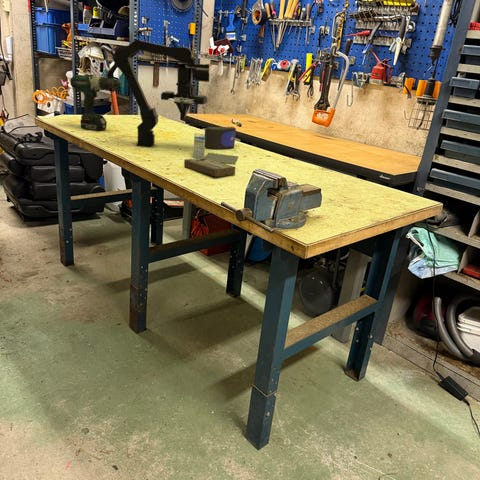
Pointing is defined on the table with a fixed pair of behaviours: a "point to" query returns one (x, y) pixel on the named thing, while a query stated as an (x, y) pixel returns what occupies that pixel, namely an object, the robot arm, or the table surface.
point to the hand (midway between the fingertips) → (183, 118)
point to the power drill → (92, 98)
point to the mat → (222, 158)
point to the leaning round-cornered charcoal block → (220, 137)
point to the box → (209, 167)
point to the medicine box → (199, 145)
